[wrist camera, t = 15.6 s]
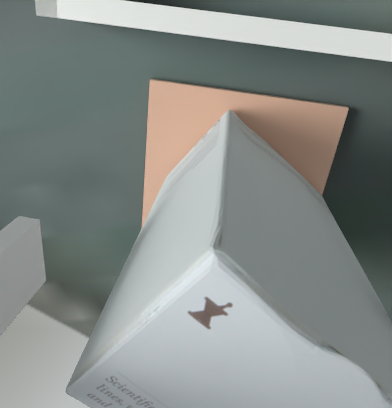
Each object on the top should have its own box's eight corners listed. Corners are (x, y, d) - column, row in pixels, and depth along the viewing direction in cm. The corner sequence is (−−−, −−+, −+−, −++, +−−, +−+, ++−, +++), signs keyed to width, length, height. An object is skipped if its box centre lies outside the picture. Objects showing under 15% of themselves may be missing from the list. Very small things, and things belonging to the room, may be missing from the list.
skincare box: (167, 174, 22) (35, 388, 8) (234, 101, 19) (199, 239, 6) (261, 255, 23) (278, 546, 10) (334, 198, 21) (488, 480, 7)
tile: (152, 78, 20) (149, 79, 19) (346, 105, 19) (349, 107, 18) (143, 239, 25) (141, 243, 24) (297, 266, 24) (298, 272, 23)
